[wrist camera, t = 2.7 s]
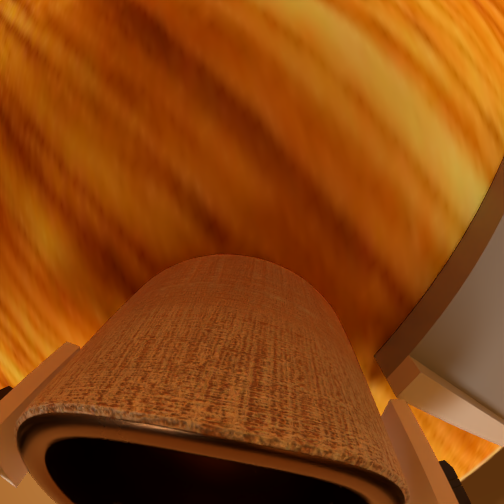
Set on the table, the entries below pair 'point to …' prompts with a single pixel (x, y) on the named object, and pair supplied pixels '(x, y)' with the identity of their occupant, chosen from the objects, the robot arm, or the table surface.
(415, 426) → the robot arm
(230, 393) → the planter
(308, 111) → the table surface
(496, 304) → the grey square tray
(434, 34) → the table surface
